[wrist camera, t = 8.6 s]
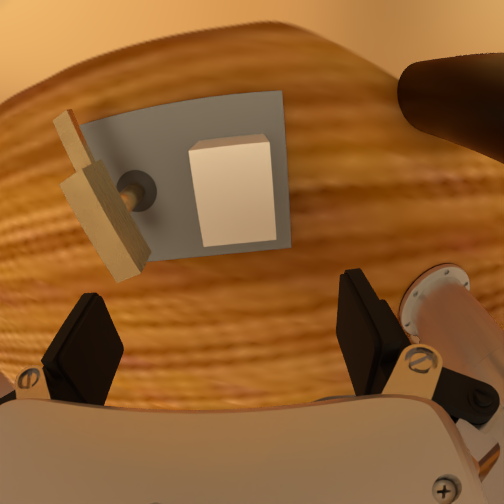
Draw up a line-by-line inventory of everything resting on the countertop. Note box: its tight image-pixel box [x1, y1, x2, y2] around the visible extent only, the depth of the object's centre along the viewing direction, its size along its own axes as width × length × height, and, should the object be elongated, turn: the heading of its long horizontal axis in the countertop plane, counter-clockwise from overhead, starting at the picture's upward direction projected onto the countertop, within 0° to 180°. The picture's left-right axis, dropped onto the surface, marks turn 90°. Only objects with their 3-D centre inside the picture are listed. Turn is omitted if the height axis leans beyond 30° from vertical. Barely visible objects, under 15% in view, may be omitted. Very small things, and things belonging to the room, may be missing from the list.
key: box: [53, 109, 152, 283], centre depth 24 cm, size 2×14×9 cm, turn 22°
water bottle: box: [397, 53, 504, 164], centre depth 17 cm, size 10×10×23 cm
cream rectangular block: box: [188, 134, 276, 247], centre depth 26 cm, size 8×6×6 cm
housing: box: [79, 91, 291, 262], centre depth 30 cm, size 16×20×2 cm
